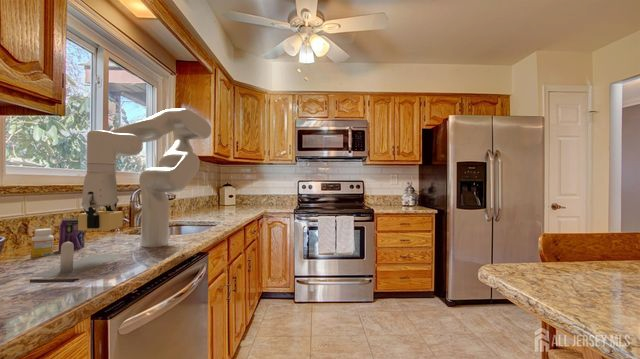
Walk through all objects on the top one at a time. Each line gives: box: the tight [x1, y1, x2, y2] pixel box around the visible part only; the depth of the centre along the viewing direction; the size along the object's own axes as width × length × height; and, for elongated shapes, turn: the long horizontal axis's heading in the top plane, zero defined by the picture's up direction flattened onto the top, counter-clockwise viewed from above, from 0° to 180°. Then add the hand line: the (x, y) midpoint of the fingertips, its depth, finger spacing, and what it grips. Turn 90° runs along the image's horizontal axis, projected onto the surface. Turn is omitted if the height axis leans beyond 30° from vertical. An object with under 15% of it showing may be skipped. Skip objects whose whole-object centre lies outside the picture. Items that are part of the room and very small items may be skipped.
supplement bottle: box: [30, 228, 55, 259], centre depth 96 cm, size 5×5×10 cm
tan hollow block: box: [77, 210, 124, 231], centre depth 93 cm, size 7×9×5 cm
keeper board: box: [29, 242, 126, 284], centre depth 86 cm, size 24×10×9 cm, turn 5°
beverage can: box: [58, 217, 86, 252], centre depth 106 cm, size 7×7×12 cm
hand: (101, 225), depth 93 cm, fingers closed on tan hollow block, 7 cm apart
